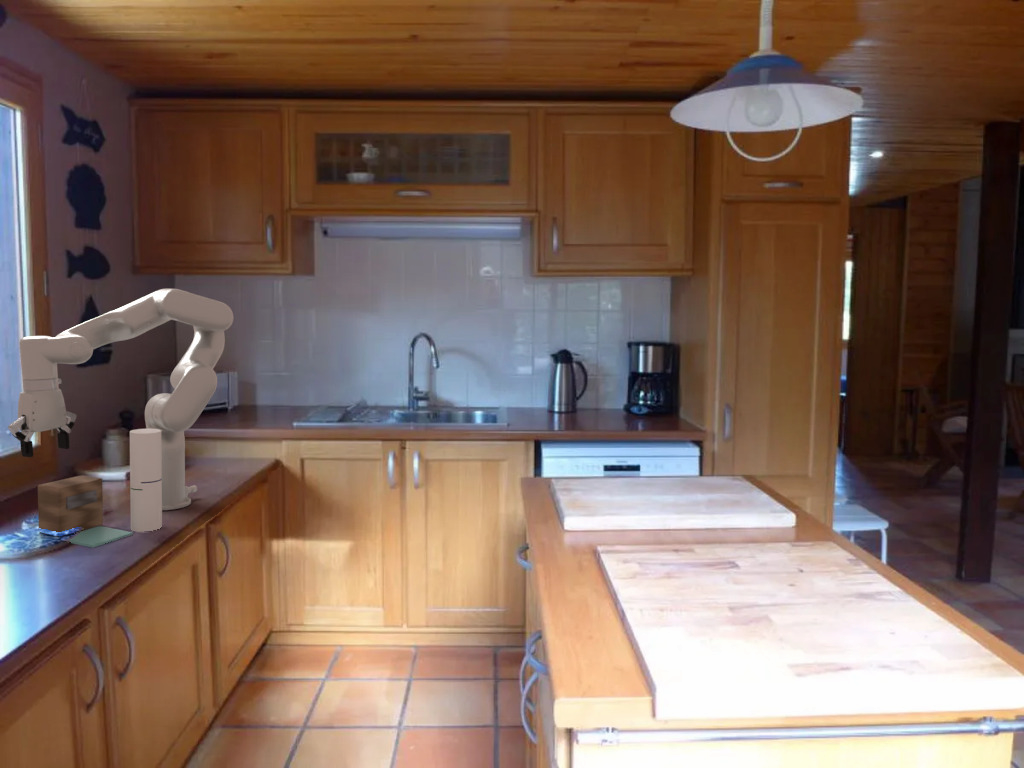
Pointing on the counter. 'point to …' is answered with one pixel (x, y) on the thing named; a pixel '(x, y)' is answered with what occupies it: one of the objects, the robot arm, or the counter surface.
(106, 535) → the teal pad
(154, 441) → the cylindrical container
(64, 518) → the walnut housing
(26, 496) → the counter surface
